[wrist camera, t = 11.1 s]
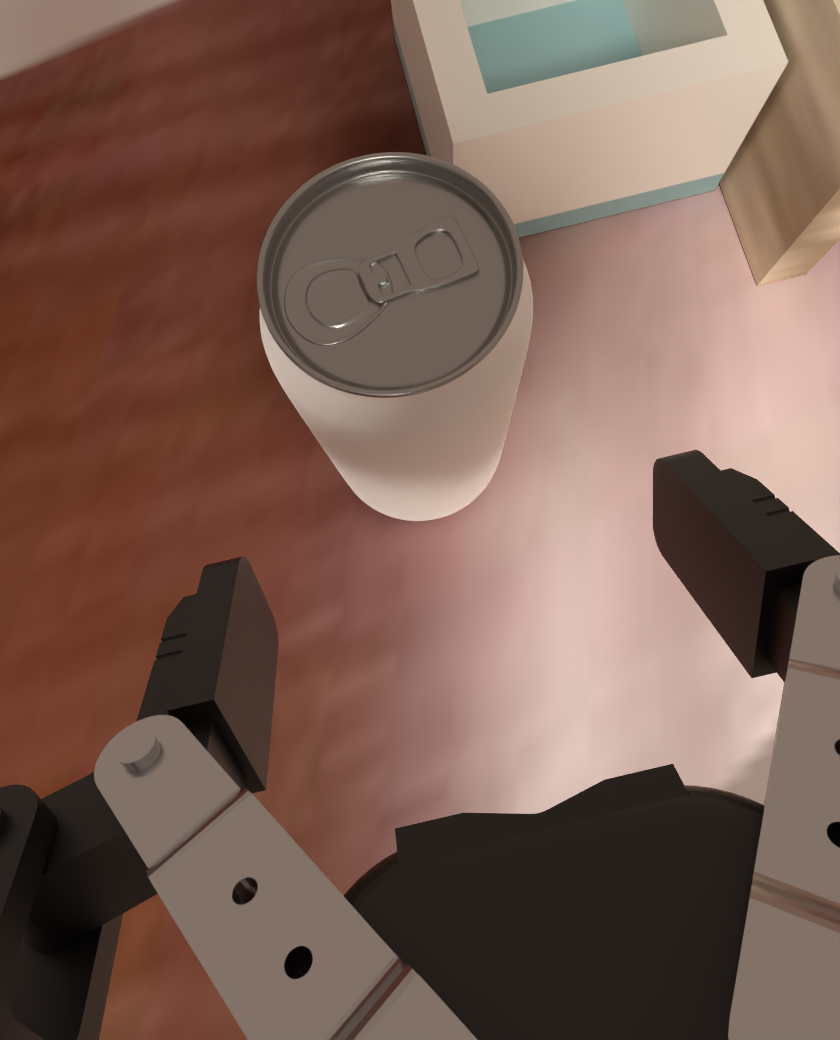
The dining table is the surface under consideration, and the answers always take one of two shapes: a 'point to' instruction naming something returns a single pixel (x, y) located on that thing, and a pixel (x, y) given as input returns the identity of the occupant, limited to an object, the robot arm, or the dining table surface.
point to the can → (399, 326)
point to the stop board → (792, 150)
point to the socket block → (587, 97)
